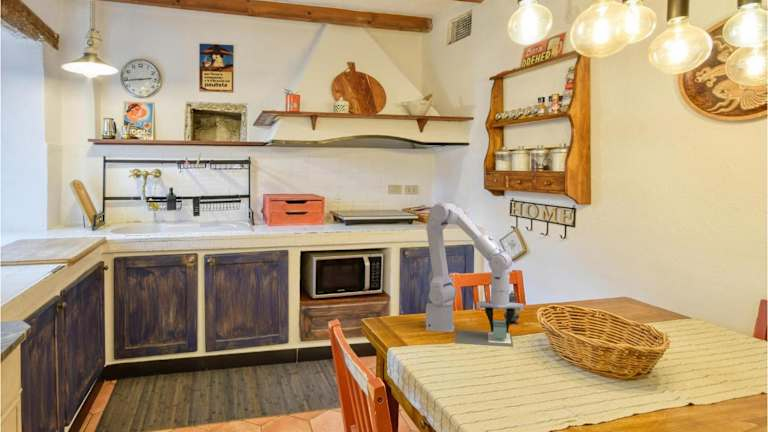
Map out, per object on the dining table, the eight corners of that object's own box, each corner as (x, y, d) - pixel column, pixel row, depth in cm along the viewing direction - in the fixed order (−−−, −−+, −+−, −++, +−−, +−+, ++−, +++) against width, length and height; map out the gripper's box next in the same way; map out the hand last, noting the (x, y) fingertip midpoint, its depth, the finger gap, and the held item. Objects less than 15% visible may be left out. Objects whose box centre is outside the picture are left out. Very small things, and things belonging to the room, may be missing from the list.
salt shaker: (513, 326, 175) (513, 293, 175) (499, 323, 180) (500, 290, 179) (523, 323, 179) (523, 291, 178) (509, 320, 184) (510, 288, 183)
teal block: (492, 330, 165) (492, 320, 165) (505, 331, 164) (505, 320, 164) (493, 337, 157) (493, 326, 157) (506, 338, 157) (506, 327, 156)
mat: (454, 344, 156) (454, 342, 156) (456, 331, 170) (456, 329, 169) (513, 348, 152) (513, 346, 152) (510, 335, 166) (510, 332, 166)
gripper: (477, 291, 157) (476, 333, 158) (524, 293, 155) (523, 336, 155) (477, 286, 164) (476, 327, 165) (522, 288, 161) (521, 329, 162)
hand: (499, 331), depth 161 cm, fingers closed on teal block, 4 cm apart
